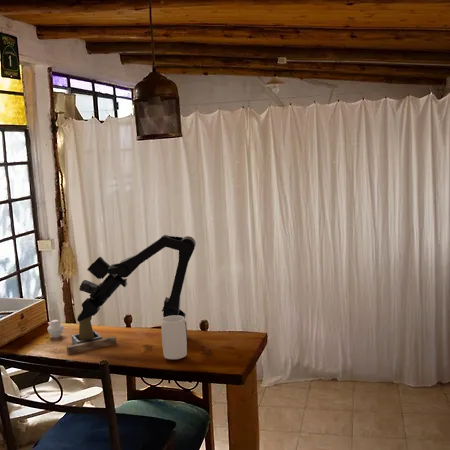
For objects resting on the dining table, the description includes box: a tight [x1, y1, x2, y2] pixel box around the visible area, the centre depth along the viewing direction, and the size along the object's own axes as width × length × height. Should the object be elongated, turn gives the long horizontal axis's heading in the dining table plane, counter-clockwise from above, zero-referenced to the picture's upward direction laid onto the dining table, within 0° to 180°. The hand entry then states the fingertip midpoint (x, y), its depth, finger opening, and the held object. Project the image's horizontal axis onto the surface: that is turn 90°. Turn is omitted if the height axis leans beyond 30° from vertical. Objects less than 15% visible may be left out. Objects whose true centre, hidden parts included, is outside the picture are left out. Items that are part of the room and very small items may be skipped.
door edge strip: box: [66, 336, 117, 355], centre depth 205 cm, size 18×2×2 cm, turn 119°
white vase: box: [47, 319, 64, 339], centre depth 220 cm, size 6×6×7 cm
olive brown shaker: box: [77, 312, 94, 341], centre depth 210 cm, size 6×6×11 cm
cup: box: [160, 315, 188, 360], centre depth 190 cm, size 8×8×14 cm
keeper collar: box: [71, 330, 103, 345], centre depth 211 cm, size 9×9×3 cm
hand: (81, 317), depth 210 cm, fingers open, 9 cm apart
